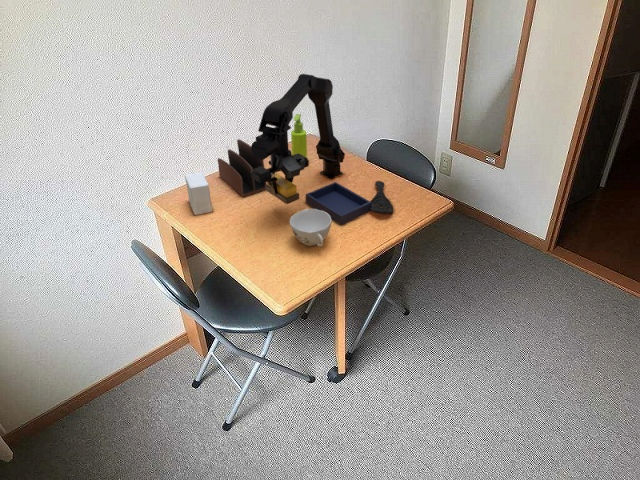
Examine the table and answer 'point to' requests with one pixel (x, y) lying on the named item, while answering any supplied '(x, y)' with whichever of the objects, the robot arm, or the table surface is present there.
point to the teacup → (311, 226)
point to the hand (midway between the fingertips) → (281, 191)
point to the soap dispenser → (299, 137)
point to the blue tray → (338, 202)
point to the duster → (284, 190)
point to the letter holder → (241, 170)
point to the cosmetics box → (198, 193)
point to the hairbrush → (381, 201)
